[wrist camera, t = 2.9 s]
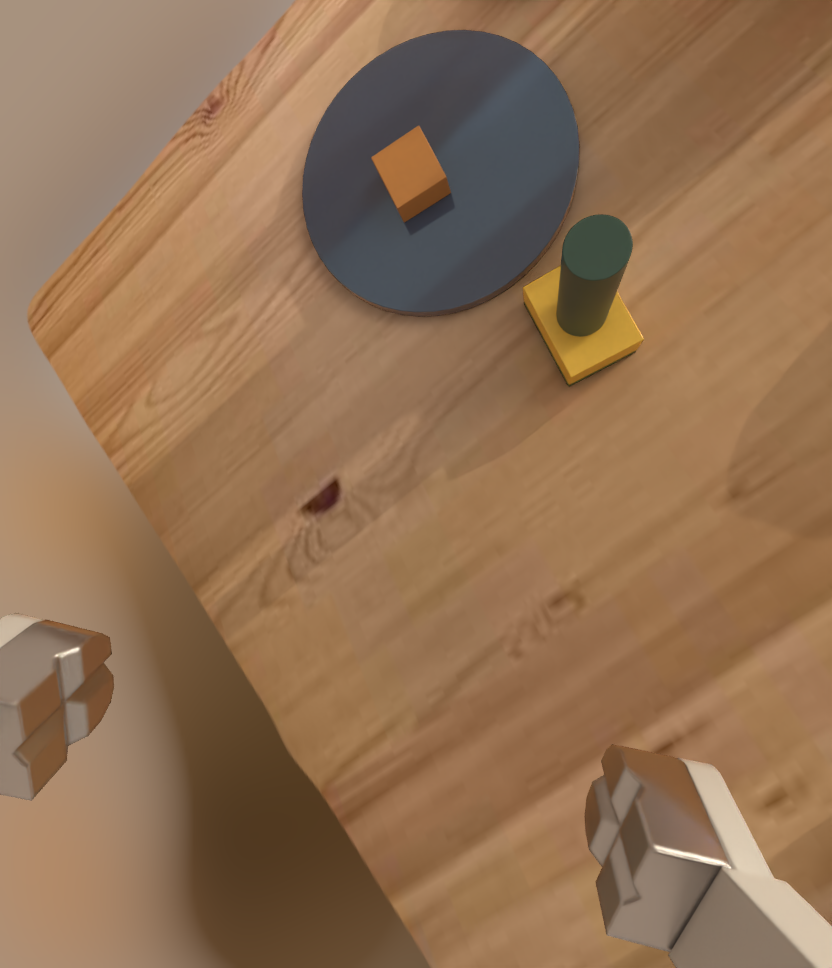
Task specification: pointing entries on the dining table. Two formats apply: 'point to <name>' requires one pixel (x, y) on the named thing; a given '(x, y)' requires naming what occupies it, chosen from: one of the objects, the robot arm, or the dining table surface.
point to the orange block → (411, 174)
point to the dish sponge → (586, 300)
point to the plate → (465, 161)
